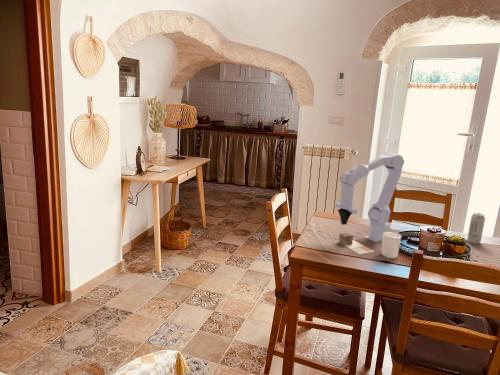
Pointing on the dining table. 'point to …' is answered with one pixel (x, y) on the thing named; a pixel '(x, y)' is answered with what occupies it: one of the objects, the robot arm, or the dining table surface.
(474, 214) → the energy drink can
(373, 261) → the dining table surface
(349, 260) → the dining table surface
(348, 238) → the block
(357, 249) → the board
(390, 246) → the white cup
